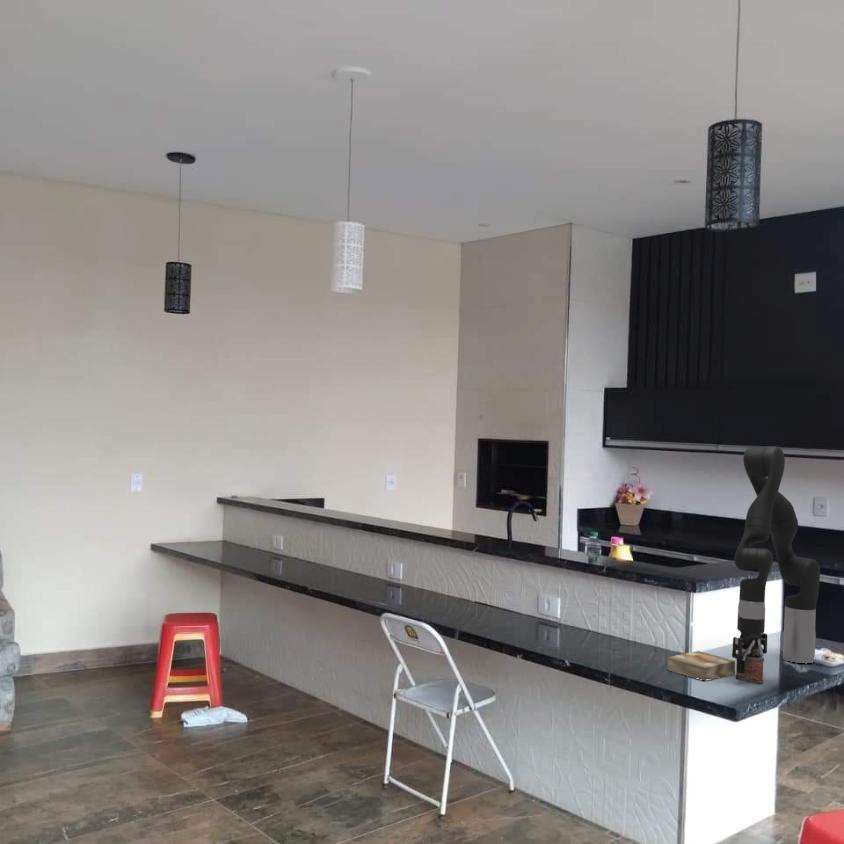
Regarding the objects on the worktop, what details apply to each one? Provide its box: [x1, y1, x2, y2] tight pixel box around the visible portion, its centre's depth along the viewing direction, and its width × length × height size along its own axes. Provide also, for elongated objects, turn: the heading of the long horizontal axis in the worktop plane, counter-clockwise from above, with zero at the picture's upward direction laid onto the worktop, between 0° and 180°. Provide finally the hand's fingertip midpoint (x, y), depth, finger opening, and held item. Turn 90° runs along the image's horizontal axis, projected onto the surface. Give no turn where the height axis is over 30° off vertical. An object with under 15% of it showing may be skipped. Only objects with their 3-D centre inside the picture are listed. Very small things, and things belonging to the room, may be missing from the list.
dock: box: [667, 650, 736, 680], centre depth 270 cm, size 15×13×4 cm
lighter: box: [734, 647, 765, 685], centre depth 262 cm, size 8×3×10 cm, turn 48°
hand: (749, 670), depth 262 cm, fingers open, 8 cm apart
